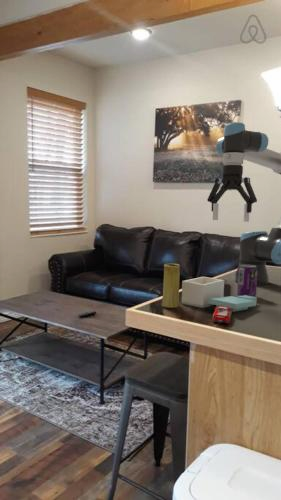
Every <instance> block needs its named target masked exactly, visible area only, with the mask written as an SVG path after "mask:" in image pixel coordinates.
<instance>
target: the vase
mask: <svg viewBox="0 0 281 500" xmlns="http://www.w3.org/2000/svg"><path fill="white" fill-rule="evenodd" d="M180 267H181V265H180V264H178V263H164V264H163V284H162V285H163V286H162V301H161V306H162V307H164V308H168V309H169V308H170V309H176V308H179V307H180V305H181V304H180V272H181V271H180V269H181V268H180Z"/></svg>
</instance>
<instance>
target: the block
mask: <svg viewBox="0 0 281 500" xmlns="http://www.w3.org/2000/svg"><path fill="white" fill-rule="evenodd" d="M257 301H258V297H256V296H254V297H252V296H247V295H244V296H239V295H237V296H232V295H230V296H229V295H227V296H224V297H218V298H210V299H209V304H214V305H213V306H215V305H216V306H215V308H217V307H219V306H221V307H228V308H230V309H232V313H235V312H239V311H244V310H249V307H250V308H251V307H256V305H257Z"/></svg>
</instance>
